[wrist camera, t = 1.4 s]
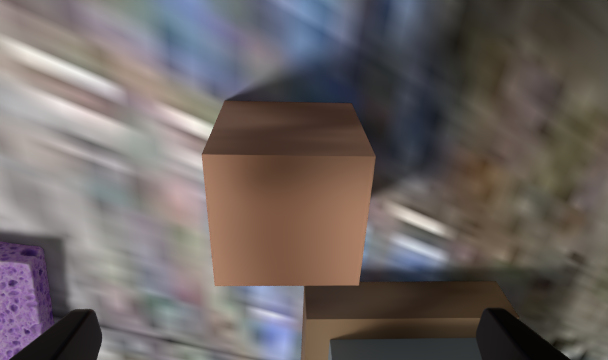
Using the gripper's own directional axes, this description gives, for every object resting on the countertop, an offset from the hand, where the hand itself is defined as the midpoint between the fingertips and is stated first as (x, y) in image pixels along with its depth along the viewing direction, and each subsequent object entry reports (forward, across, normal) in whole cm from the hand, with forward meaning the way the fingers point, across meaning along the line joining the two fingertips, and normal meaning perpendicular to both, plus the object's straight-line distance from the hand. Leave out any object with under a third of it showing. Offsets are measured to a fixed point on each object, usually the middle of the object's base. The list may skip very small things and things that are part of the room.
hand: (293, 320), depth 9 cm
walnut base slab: (+9, -6, +12) cm, 16 cm away
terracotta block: (+9, 0, 0) cm, 9 cm away
